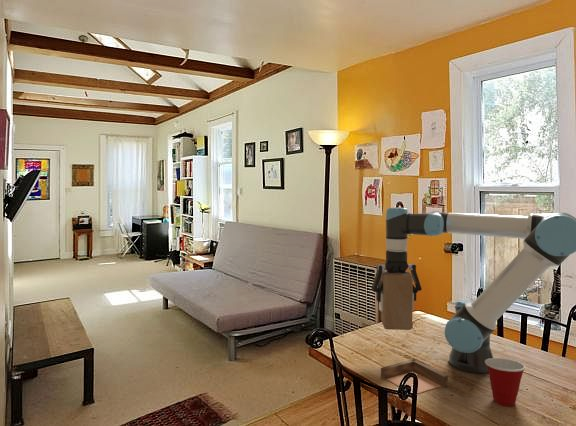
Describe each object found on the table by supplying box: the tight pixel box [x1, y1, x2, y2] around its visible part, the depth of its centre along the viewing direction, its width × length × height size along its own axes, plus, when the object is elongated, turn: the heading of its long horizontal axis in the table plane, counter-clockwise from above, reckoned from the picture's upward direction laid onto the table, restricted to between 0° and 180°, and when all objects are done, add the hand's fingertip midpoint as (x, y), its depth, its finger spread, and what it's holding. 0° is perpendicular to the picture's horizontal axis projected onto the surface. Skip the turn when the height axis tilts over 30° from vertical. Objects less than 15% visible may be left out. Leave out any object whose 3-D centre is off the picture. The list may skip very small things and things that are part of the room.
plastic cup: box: [485, 357, 526, 407], centre depth 123 cm, size 11×11×12 cm
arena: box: [380, 359, 449, 388], centre depth 136 cm, size 15×15×4 cm
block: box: [380, 269, 414, 331], centre depth 150 cm, size 10×10×20 cm
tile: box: [386, 371, 442, 395], centre depth 136 cm, size 12×12×1 cm
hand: (396, 310), depth 150 cm, fingers closed on block, 11 cm apart
